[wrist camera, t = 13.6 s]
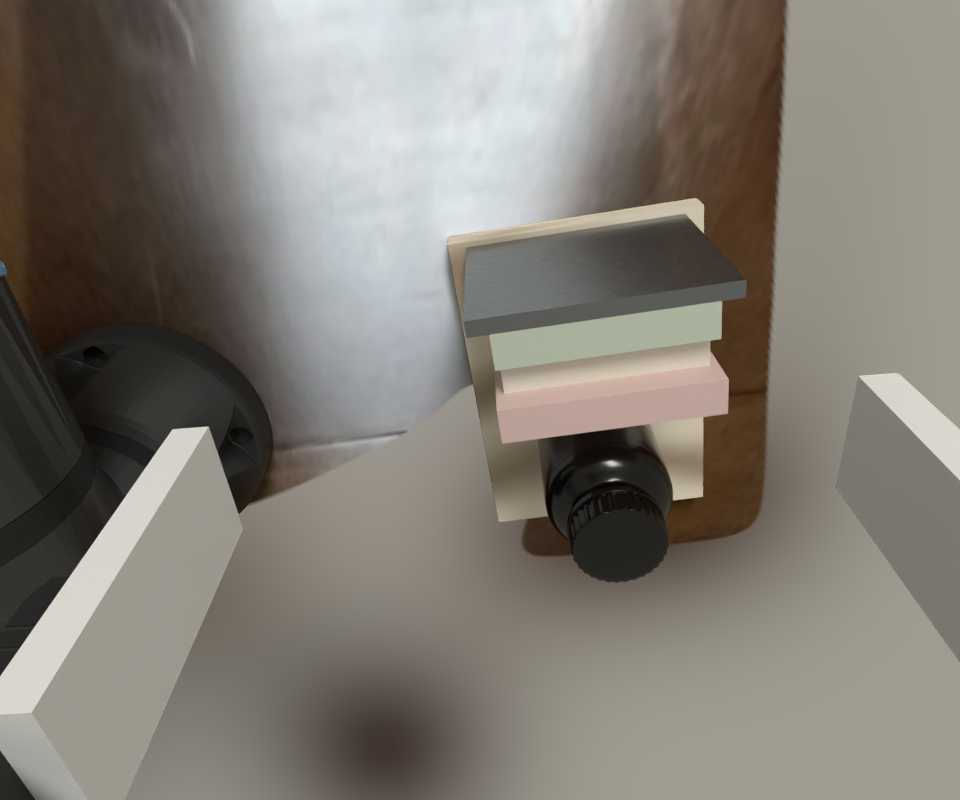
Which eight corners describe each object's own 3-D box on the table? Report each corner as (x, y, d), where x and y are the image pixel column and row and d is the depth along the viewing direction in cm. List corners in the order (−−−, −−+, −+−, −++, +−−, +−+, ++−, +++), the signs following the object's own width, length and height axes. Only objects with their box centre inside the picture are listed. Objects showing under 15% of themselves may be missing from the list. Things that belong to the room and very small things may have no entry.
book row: (672, 319, 41) (727, 413, 32) (496, 345, 42) (502, 443, 33) (670, 230, 38) (730, 304, 29) (482, 258, 39) (484, 340, 30)
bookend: (685, 228, 38) (745, 297, 30) (468, 261, 39) (466, 338, 31) (685, 213, 38) (746, 279, 29) (466, 247, 39) (463, 321, 30)
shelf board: (696, 483, 49) (702, 496, 48) (498, 508, 50) (498, 522, 49) (696, 198, 39) (703, 205, 38) (448, 236, 40) (447, 244, 39)
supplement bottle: (639, 362, 43) (692, 483, 32) (645, 454, 46) (695, 589, 36) (527, 380, 43) (543, 504, 33) (541, 469, 47) (561, 607, 36)
